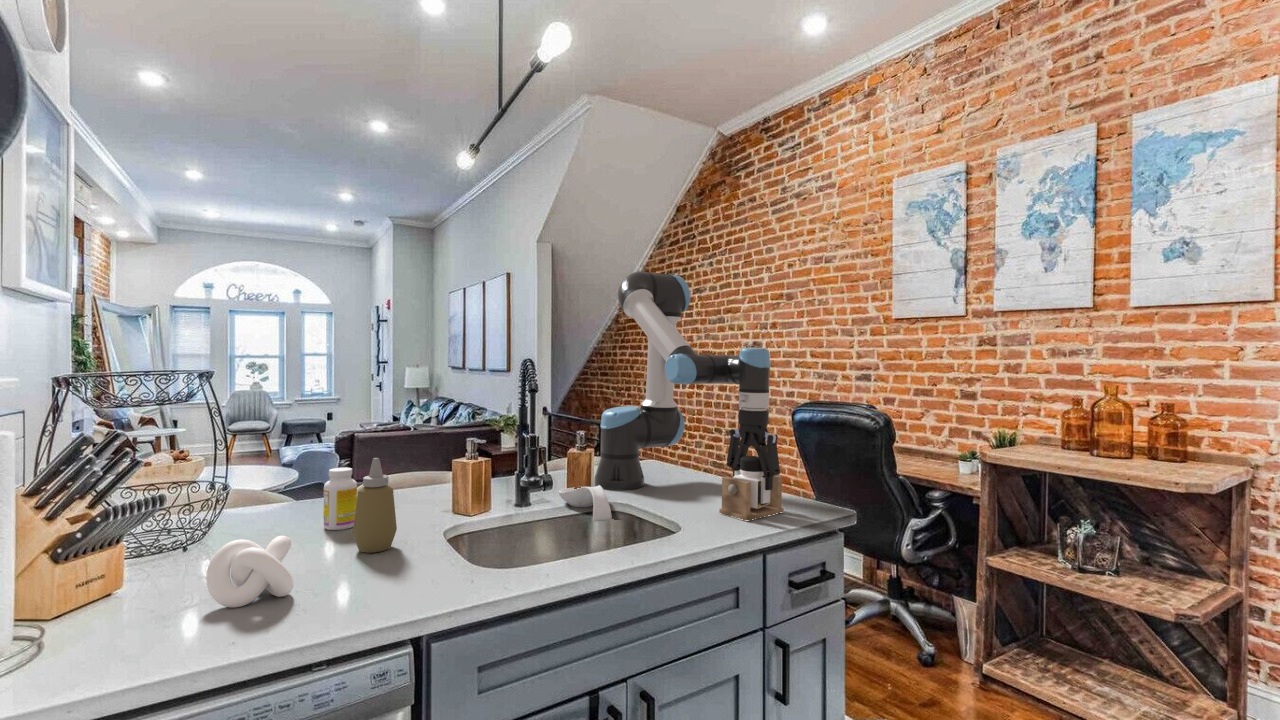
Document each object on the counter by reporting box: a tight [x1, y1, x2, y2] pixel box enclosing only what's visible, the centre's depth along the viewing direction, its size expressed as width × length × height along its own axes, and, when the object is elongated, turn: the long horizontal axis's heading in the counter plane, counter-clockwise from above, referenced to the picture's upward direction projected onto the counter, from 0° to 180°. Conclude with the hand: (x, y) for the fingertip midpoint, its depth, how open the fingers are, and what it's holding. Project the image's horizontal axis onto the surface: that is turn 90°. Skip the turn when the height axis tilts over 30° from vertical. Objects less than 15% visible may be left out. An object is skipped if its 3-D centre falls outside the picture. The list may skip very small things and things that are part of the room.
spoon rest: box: [558, 485, 613, 522], centre depth 152 cm, size 24×12×7 cm, turn 23°
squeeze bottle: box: [352, 457, 398, 553], centre depth 118 cm, size 8×8×18 cm
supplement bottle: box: [323, 467, 358, 531], centre depth 133 cm, size 7×7×13 cm
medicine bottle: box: [732, 455, 770, 509], centre depth 150 cm, size 7×7×12 cm
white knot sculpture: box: [205, 535, 294, 609], centre depth 95 cm, size 11×12×9 cm
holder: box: [718, 474, 785, 521], centre depth 150 cm, size 9×15×9 cm, turn 129°
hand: (751, 499), depth 150 cm, fingers closed on medicine bottle, 8 cm apart
